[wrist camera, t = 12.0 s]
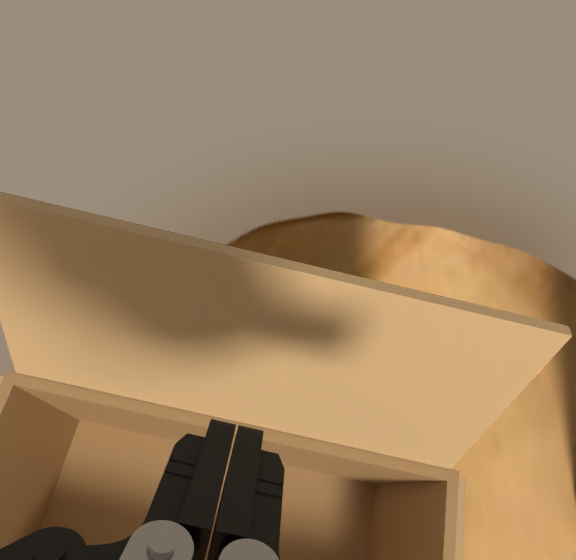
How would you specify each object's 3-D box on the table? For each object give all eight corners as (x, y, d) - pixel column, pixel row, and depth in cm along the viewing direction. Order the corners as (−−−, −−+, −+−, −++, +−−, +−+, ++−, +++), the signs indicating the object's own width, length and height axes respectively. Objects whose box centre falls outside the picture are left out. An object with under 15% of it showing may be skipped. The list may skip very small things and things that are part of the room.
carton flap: (450, 469, 26) (449, 460, 26) (572, 335, 19) (568, 326, 19) (15, 372, 25) (20, 364, 26) (-39, 191, 18) (-31, 184, 18)
